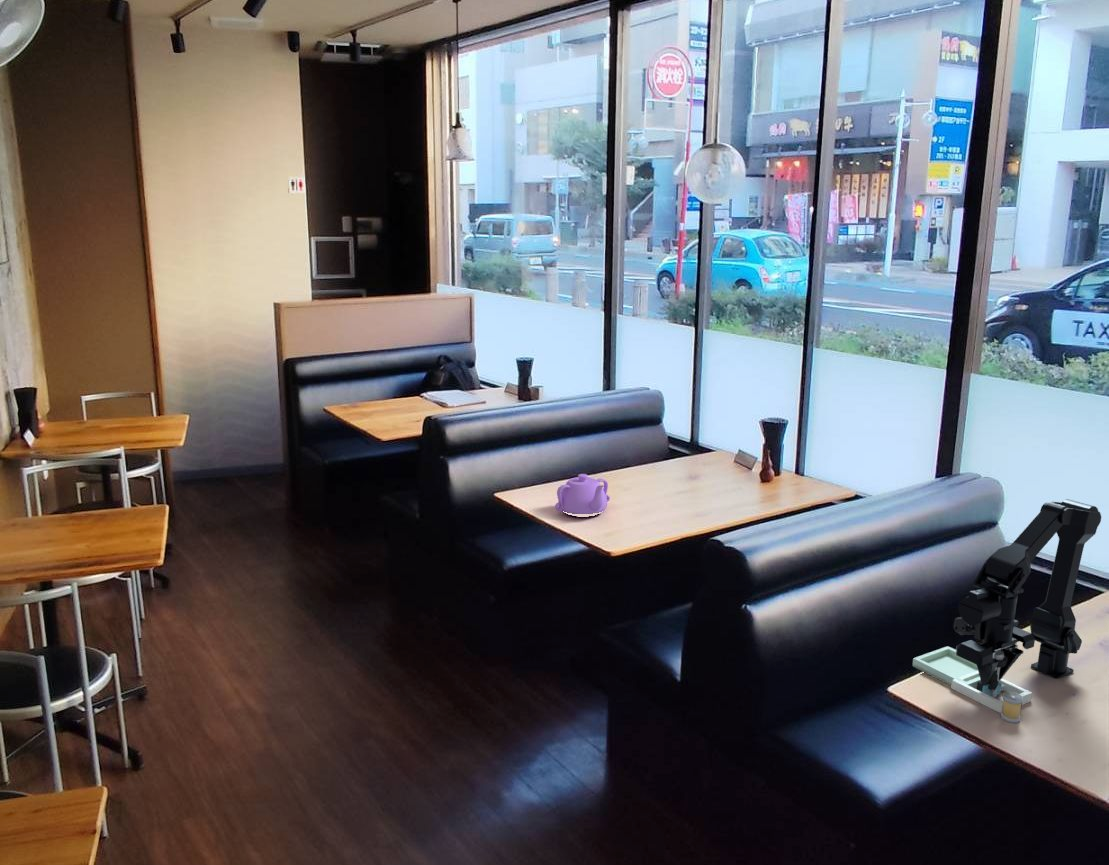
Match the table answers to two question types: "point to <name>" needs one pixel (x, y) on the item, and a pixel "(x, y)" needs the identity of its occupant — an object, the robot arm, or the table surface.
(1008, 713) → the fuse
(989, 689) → the push button
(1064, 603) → the robot arm
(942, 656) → the parts tray
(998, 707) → the pale rectangular frame
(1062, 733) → the table surface
